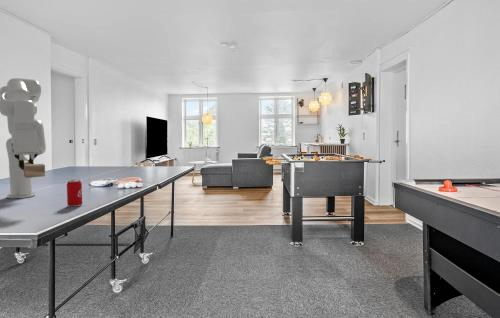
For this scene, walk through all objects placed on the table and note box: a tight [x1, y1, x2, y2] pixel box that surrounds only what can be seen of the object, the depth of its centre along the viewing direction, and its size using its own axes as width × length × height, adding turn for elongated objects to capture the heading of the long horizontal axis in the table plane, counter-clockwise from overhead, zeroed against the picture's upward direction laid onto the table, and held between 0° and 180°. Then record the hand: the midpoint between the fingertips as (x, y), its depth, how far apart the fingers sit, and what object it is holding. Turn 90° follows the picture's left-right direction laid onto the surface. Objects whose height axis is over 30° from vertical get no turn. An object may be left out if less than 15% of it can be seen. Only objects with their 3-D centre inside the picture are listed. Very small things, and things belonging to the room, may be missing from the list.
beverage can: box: [66, 179, 83, 208], centre depth 156 cm, size 6×6×12 cm
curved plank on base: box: [18, 159, 46, 179], centre depth 149 cm, size 20×7×5 cm, turn 49°
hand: (26, 168), depth 151 cm, fingers closed on curved plank on base, 2 cm apart
